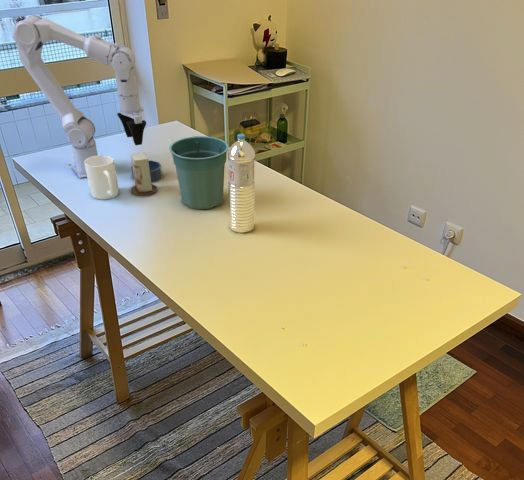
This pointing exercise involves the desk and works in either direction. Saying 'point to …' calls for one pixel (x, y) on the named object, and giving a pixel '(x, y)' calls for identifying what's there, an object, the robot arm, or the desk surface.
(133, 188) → the walnut coaster
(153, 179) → the blue ring
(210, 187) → the flower pot
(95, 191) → the cup
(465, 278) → the desk surface
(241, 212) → the water bottle
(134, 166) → the drug facts carton
